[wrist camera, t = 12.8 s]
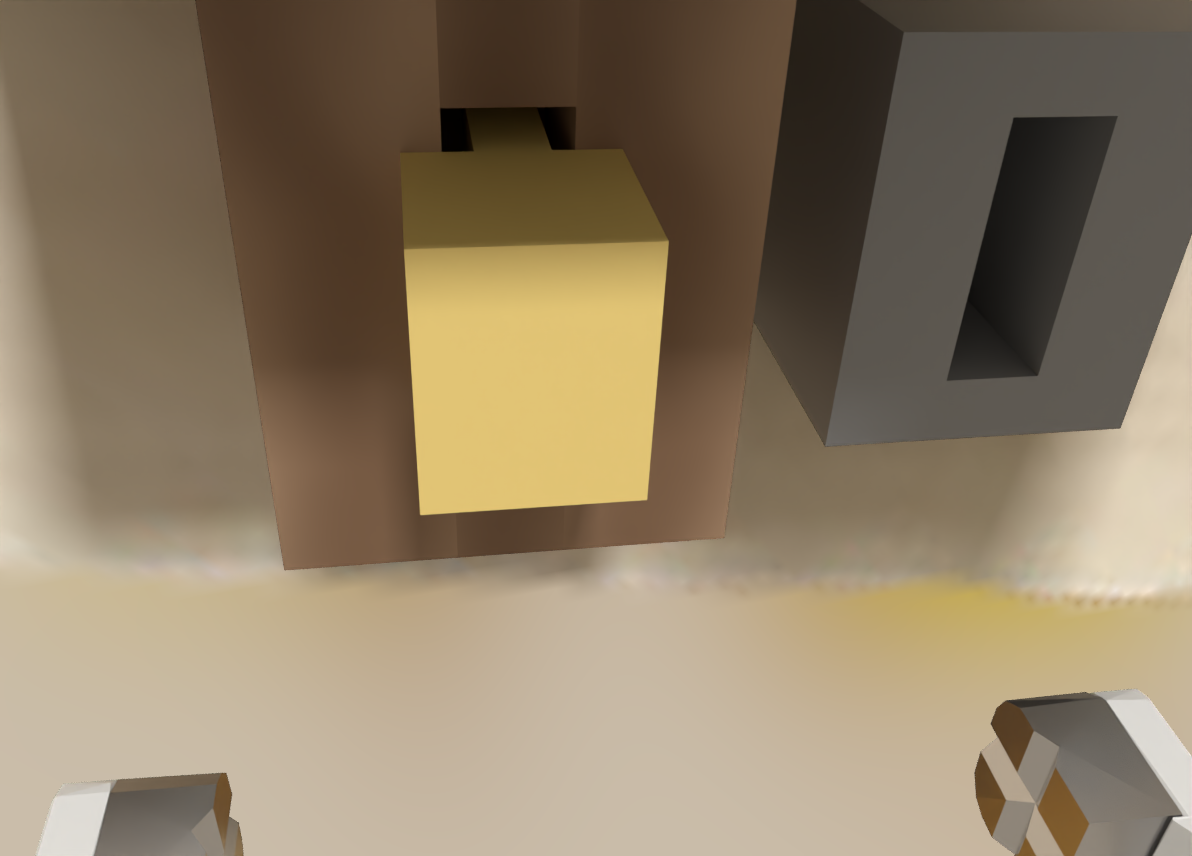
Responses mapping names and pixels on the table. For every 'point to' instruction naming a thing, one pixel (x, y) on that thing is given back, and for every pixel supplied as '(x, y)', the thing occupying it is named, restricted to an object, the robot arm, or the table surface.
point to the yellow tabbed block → (530, 319)
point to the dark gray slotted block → (976, 212)
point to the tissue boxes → (376, 245)
